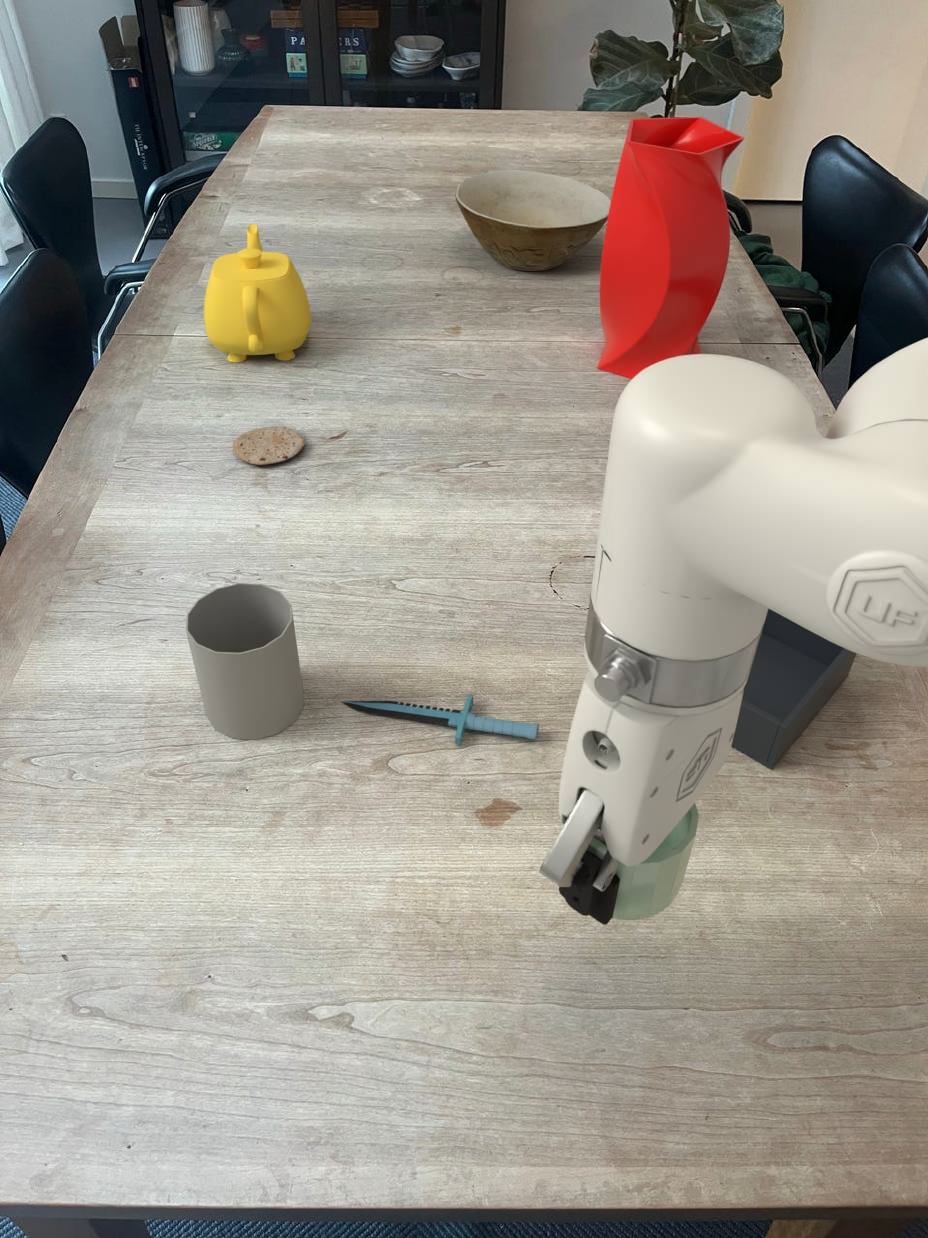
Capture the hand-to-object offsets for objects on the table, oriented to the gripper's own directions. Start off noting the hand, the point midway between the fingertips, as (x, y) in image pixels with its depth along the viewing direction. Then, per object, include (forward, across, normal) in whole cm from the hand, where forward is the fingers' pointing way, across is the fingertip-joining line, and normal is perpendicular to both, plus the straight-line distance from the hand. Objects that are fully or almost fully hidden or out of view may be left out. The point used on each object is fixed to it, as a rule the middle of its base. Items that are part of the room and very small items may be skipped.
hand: (623, 859), depth 57 cm
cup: (+16, +3, +37) cm, 40 cm away
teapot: (+15, +48, +87) cm, 100 cm away
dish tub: (+16, +32, +7) cm, 36 cm away
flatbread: (+15, +30, +66) cm, 74 cm away
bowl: (+16, +93, +76) cm, 121 cm away
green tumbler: (+1, 0, 0) cm, 1 cm away
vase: (+16, +78, +44) cm, 91 cm away
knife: (+16, +12, +24) cm, 31 cm away
